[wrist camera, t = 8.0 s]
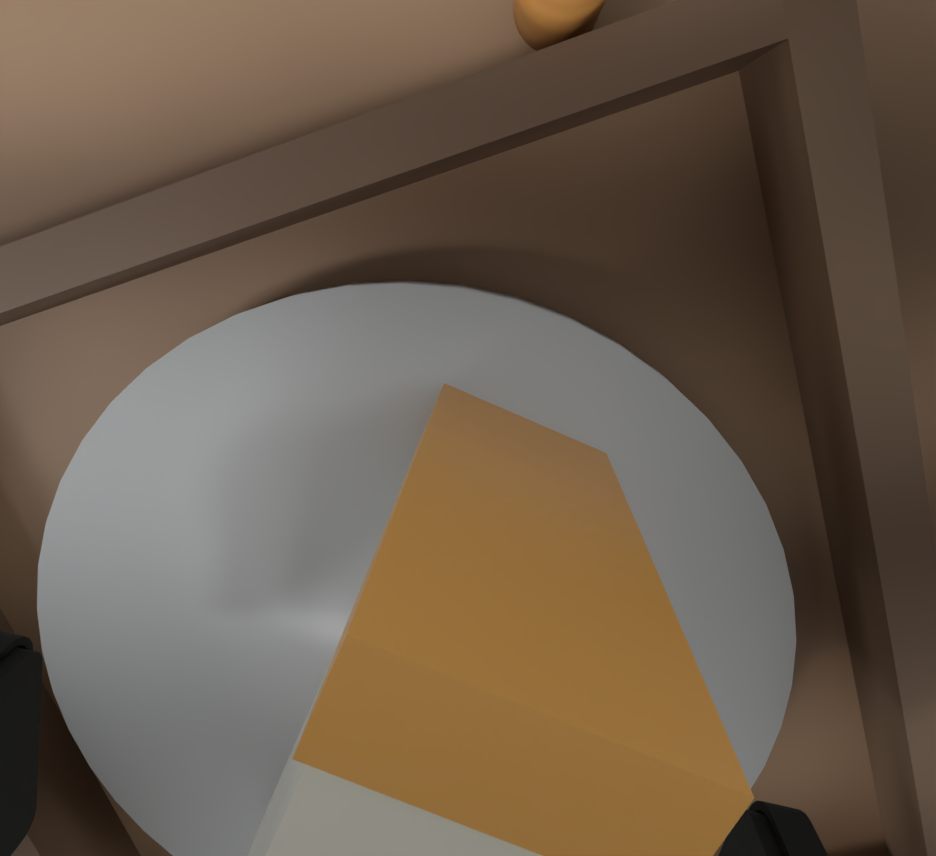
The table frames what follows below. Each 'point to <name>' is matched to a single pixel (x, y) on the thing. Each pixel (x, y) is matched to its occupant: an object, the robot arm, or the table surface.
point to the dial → (415, 589)
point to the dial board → (518, 279)
